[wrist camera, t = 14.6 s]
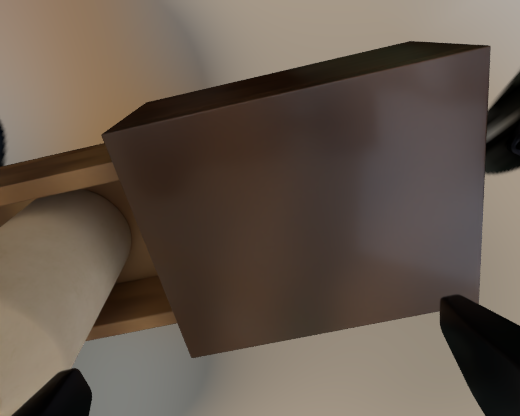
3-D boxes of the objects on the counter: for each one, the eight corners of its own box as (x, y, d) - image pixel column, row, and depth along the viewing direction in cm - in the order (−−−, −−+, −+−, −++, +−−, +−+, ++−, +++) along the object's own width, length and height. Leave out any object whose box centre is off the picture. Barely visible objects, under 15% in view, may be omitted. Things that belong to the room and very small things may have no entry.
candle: (136, 196, 19) (40, 343, 10) (129, 283, 21) (46, 467, 12) (23, 177, 19) (-189, 316, 9) (28, 269, 21) (-139, 451, 12)
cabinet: (204, 276, 24) (191, 358, 18) (145, 102, 19) (100, 134, 13) (418, 233, 23) (479, 304, 17) (411, 40, 18) (491, 45, 12)
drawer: (-1, 318, 24) (-57, 383, 19) (-98, 173, 19) (-197, 214, 15) (210, 275, 23) (202, 333, 18) (157, 115, 19) (130, 140, 14)
